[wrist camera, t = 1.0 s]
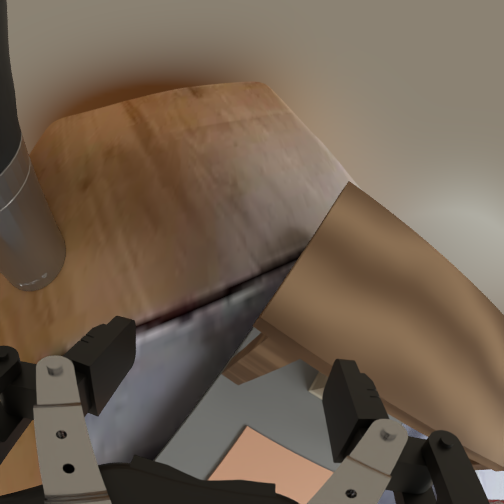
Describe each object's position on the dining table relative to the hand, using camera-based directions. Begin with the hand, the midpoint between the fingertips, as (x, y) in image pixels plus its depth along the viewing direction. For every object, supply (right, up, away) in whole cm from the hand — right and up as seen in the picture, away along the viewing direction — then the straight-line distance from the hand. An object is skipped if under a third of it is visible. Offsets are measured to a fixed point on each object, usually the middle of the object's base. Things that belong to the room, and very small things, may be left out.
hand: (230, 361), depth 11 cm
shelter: (+10, -10, +19) cm, 24 cm away
